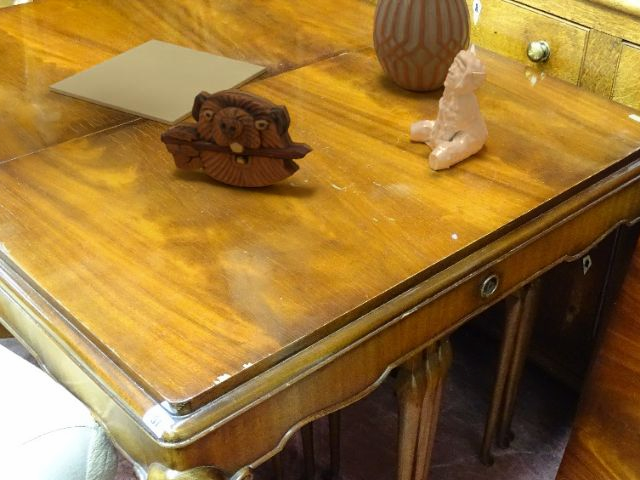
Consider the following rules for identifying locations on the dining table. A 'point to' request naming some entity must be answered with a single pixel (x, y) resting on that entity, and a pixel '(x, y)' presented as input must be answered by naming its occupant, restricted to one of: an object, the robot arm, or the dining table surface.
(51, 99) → the dining table surface
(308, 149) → the wooden carving
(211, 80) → the felt mat
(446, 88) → the white creature statuette
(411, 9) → the vase
